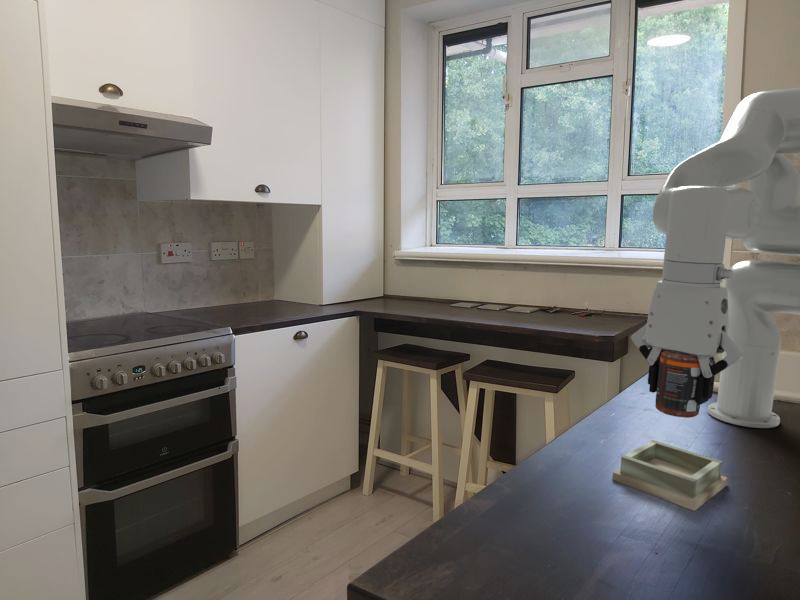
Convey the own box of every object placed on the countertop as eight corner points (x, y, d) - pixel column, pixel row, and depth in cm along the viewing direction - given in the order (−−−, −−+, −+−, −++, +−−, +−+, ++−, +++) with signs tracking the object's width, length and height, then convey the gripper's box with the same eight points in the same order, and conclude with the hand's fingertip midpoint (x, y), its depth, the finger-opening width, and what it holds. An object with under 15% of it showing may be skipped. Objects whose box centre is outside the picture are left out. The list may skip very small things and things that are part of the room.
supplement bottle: (704, 421, 83) (713, 343, 81) (659, 416, 84) (667, 339, 82) (692, 407, 89) (701, 334, 87) (650, 403, 90) (658, 331, 88)
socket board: (648, 458, 96) (650, 437, 96) (726, 485, 88) (729, 461, 87) (612, 479, 88) (614, 456, 88) (694, 511, 80) (697, 485, 79)
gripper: (768, 279, 79) (752, 406, 82) (644, 267, 92) (633, 378, 95) (749, 282, 74) (732, 418, 77) (621, 269, 87) (610, 386, 90)
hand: (678, 395), depth 86 cm, fingers closed on supplement bottle, 6 cm apart
